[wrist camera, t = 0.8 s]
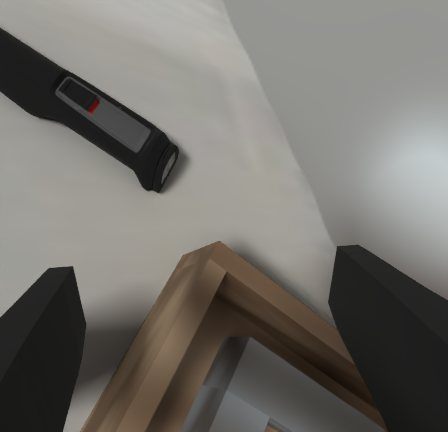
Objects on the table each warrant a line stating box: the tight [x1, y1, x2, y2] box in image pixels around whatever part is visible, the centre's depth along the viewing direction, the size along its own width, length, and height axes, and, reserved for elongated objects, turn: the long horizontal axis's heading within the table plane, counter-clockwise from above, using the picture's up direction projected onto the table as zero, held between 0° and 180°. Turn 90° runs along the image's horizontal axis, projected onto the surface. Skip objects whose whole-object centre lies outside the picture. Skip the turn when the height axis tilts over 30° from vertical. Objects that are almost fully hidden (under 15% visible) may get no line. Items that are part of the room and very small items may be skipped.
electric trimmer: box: [0, 28, 179, 193], centre depth 24 cm, size 4×16×3 cm, turn 65°
